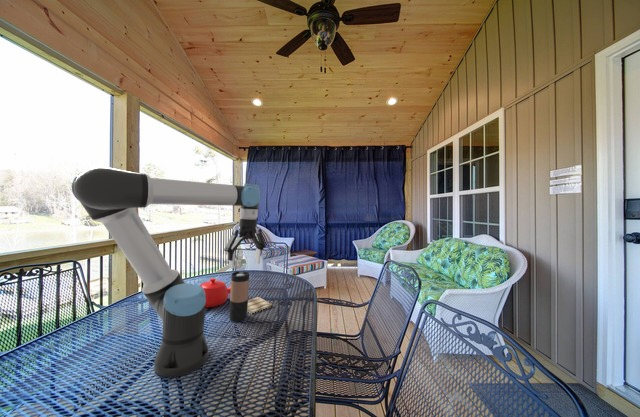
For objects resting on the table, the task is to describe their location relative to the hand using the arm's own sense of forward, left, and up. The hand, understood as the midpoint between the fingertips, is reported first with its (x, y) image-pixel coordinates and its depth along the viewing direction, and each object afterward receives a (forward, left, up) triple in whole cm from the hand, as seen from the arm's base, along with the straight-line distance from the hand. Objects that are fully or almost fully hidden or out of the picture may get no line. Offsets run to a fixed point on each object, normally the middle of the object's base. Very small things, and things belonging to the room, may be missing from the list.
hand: (245, 265), depth 106 cm
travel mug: (-2, 0, -24) cm, 24 cm away
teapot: (-3, +22, -24) cm, 32 cm away
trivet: (+10, +5, -23) cm, 26 cm away
